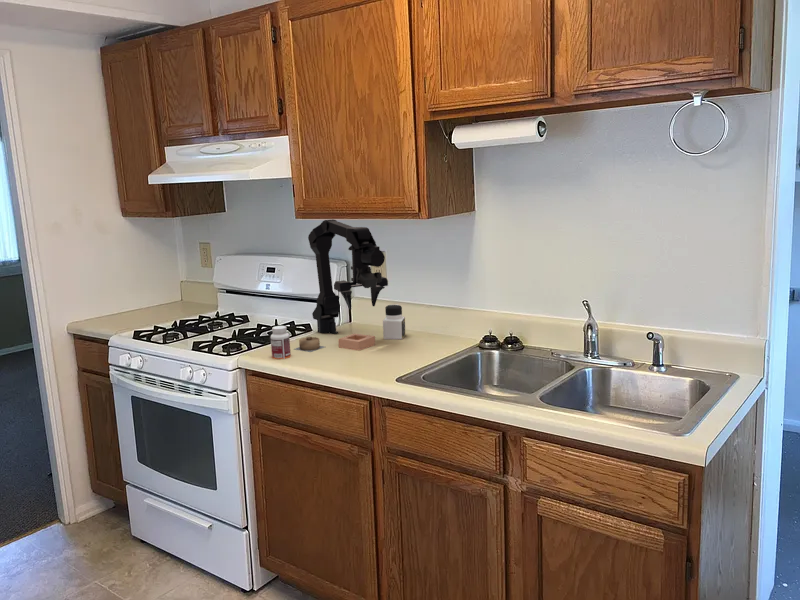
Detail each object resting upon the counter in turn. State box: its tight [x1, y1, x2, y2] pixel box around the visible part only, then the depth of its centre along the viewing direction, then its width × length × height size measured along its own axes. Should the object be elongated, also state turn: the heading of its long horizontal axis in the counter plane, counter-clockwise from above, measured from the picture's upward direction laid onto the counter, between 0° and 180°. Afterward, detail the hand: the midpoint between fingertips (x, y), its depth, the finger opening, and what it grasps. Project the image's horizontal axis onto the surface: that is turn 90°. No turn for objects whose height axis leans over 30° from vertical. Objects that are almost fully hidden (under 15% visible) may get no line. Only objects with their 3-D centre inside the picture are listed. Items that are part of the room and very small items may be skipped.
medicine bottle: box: [382, 304, 406, 340], centre depth 259 cm, size 7×7×12 cm
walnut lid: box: [298, 336, 321, 352], centre depth 243 cm, size 7×7×4 cm
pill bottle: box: [270, 325, 292, 360], centre depth 233 cm, size 6×6×11 cm
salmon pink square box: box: [337, 332, 376, 352], centre depth 244 cm, size 9×9×4 cm
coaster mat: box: [293, 345, 325, 353], centre depth 244 cm, size 8×8×1 cm
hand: (361, 307), depth 247 cm, fingers open, 9 cm apart
